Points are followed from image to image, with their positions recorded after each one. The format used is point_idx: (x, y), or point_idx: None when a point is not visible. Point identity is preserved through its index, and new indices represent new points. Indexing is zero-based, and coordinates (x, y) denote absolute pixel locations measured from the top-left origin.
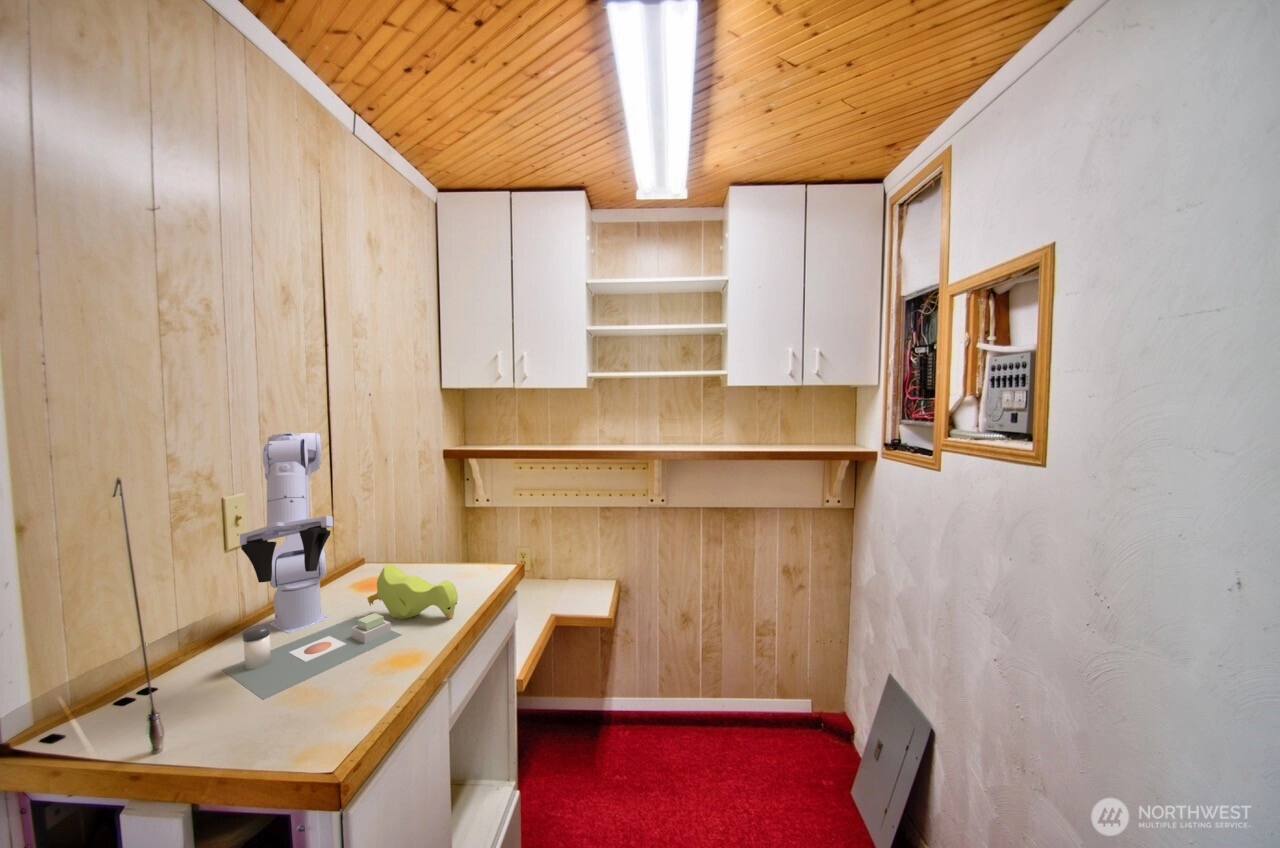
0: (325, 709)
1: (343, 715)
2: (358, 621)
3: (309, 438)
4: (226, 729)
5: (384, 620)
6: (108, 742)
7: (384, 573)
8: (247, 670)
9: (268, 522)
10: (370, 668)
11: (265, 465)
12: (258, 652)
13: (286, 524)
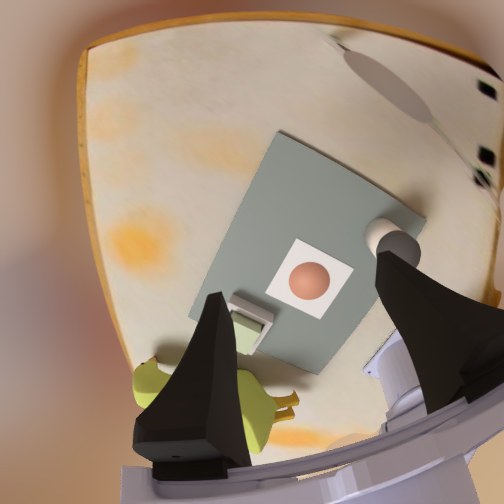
0: (163, 124)
1: (131, 118)
2: (257, 330)
3: None
4: (276, 75)
5: None
6: (418, 65)
7: (253, 432)
8: (382, 215)
9: (456, 483)
10: (172, 225)
11: None
12: (376, 230)
13: (312, 490)
